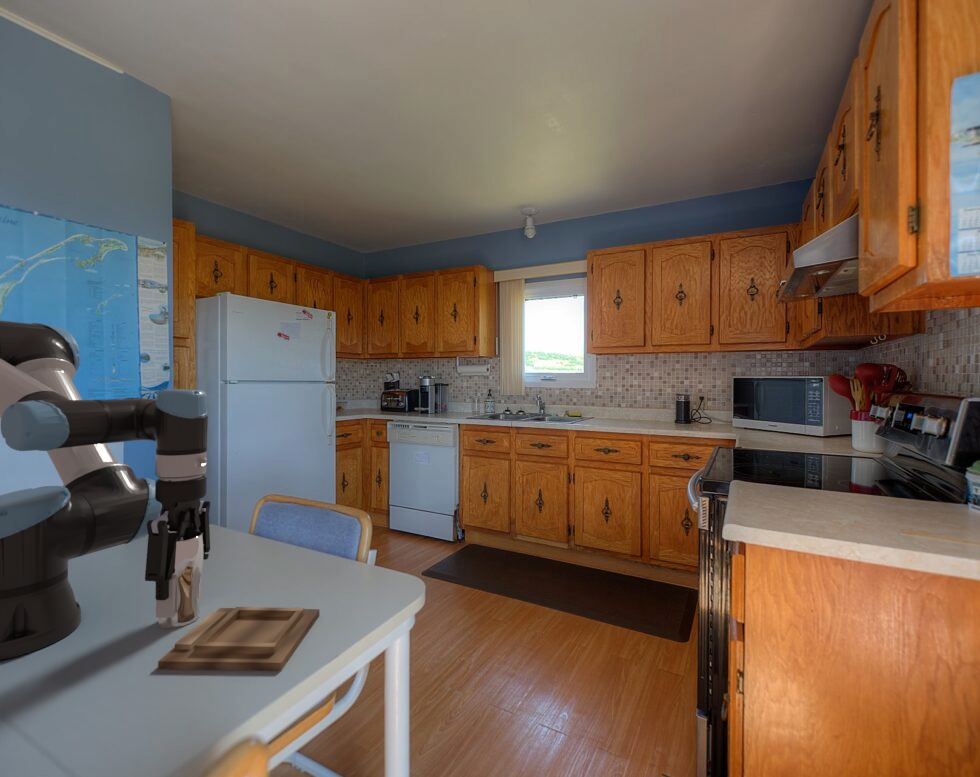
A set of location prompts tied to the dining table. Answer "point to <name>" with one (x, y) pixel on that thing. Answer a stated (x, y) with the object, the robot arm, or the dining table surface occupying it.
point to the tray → (242, 639)
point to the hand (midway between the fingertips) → (179, 605)
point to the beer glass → (186, 582)
